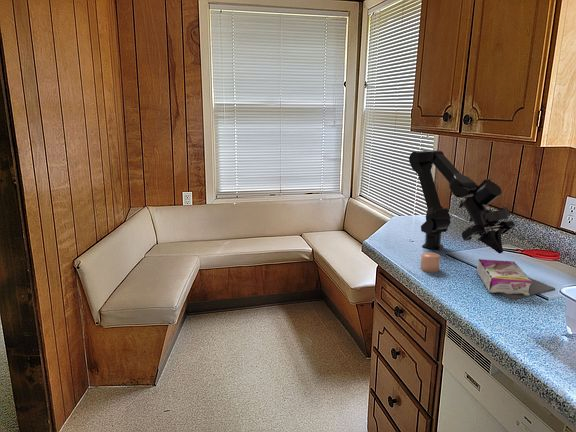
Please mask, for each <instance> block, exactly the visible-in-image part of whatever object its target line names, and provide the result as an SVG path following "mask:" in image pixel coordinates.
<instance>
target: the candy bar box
mask: <svg viewBox="0 0 576 432" xmlns="http://www.w3.org/2000/svg"><path fill="white" fill-rule="evenodd" d="M477 260H478V261H477V269H476V273H477V275H478V276H479V278H480V280H481V281H482V283H483V284H484V286H486V287H485V288H486V289H487V291H488V293H495V294H498V293H504V294H515V295H527V297H530V296H529V294H530V287H531V282H532V281H531V280H530V279H529V278H530V277H529V276H528V275H527V274H526V273H525V272H524V271H523V270H522V268H521V267H520V266H518V264H517V263H516V262H515V261H512V260H511V261H509V260H496V259H495V260H494V259H483V258H482V259H481V258H479V259H477ZM528 277H529V278H528Z"/></svg>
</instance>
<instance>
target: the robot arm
mask: <svg viewBox="0 0 576 432" xmlns="http://www.w3.org/2000/svg"><path fill="white" fill-rule="evenodd" d="M408 161H409V165H410V166H411V168H412V170H413V171H414V172H415V173H416V174H417V176H418V180H419V182H420V183H419V184H420V185H421V186H420V187H421V189H422V193H423V196H424V198H423V199H424V202H425V203H426V208H427V210H426V213H425V222H423V223H422V224H421V225H420V232H422V233H424V234H425V238H424V239H425V242H424V243H423V244H422V246H421V247H422V248H426V249H432V250H437V251H439V250H440V249H441V248H443V246H444V244H443V243H441V241H442V233H446V232H447V231H448V228H449V227H450V225H451V219H452V217H451V216H450V212H449V209H448V208H446V207H445V208H444V207H443V206H442V205H441V201H440V199H439V194H438V191H437V188H436V185H435V181H434V178H433V174H432V167H433V165H434V167H436V169H437V170H438V171H439V172H440V173H441V174H442V176H443V177H444V178H445V180H446V181H447V182H448V183H449V184H448V185H449V190H450V191H451V193H452V194H453V196H454V197H455V198H459V199H460V198H466V199H462V200H460V203H459V206H458V208H459V209H465V210H466V212H467V214H468V216H469V217H470V218H469V219H468V221H469V222H470V223H473V224H474V225H469V226H468V227H467V228H465V230H463V231H462V232H461V237H462V239H463V241H465V242H466V241H471V240H472V238H473V236H479V238H477V242H478V241H479V242H482V243H483V244H484V245H486V246H488V247H489V248H491V249H492V250H493V251H495V252H496V253H498V254H502V253H504V248H503V243H502V242H503V241H502V235H505V234H506V233H508V232H509V231H511V230H512V229H513V228H515V227H516V224H515V222H514V221H513V220H510V219H509V216H510V215H511V212H510V210H509V209H508V208H507V206H503V207H499V208H498V210H491V209H487V207H486V206H487V205H489V204H490V203H492V202H493V201H494V200H496V199H498V197H499V196H500V195H502V189H501V186H500V185H498V184H497V183H495V182H494V181H491V178H486V179H484V180H483V181H482V182H481V183H480V184H476V182H475V180H472V179H471V178H470V177H468V176H466V175H464V174H462V173H461V172H460V171H459V170H458V169H457V168H456V167H455V166H454V164H453V163H451V161H450V160H449V159H448V157H446V156H445V155H444V152H443V151H442V150H430V151H428V150H419V151H418V150H417V151H412V152H411V153H410V155H409V156H408Z"/></svg>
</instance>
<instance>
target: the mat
mask: <svg viewBox="0 0 576 432" xmlns="http://www.w3.org/2000/svg"><path fill="white" fill-rule="evenodd" d="M528 278H529V279H530V280H531V281H532V282H531V287H530V294H529V296H527V295H515V294H504V293H497V294H498V295H500V296H503V297H505V298H507V299H510V300H512V301H515V300H519V299H524V298H527V297H531V296H535V295H539V294H543V293H546V291H547V292H550V291H555V290H556V287H553V286H551V285H548V284H546V283H543V282H541V281H538V280H536V279H534V278H531V277H529V276H528ZM483 287H484V288H486V286H485V285H484V286H483ZM542 292H543V293H542Z"/></svg>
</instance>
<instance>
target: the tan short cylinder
mask: <svg viewBox="0 0 576 432" xmlns="http://www.w3.org/2000/svg"><path fill="white" fill-rule="evenodd" d="M440 260H441V254H438V253H435V252H429V251H428V252H426V251H425V252H422V253H421V256H420V270H421V271H423V272H426V273H437V272H439V270H440V263H441V261H440Z"/></svg>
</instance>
